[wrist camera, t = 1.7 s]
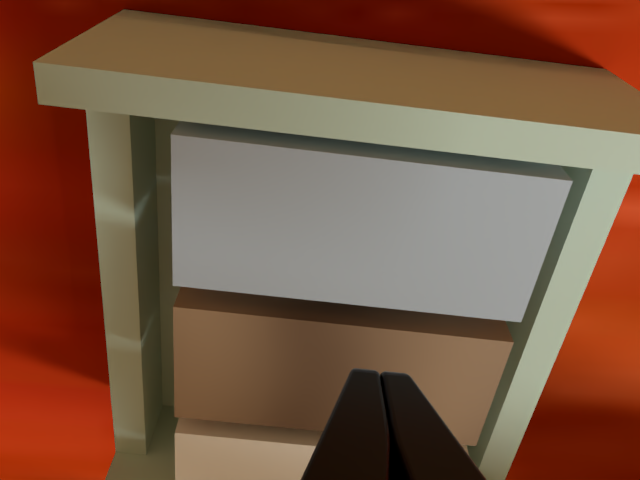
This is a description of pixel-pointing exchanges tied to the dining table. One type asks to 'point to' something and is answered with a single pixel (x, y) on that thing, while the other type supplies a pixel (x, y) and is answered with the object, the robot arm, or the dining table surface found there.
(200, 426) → the ivory key
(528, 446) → the dining table surface
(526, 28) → the dining table surface
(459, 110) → the key bed
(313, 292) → the grey flat block
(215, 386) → the brown rectangular block
